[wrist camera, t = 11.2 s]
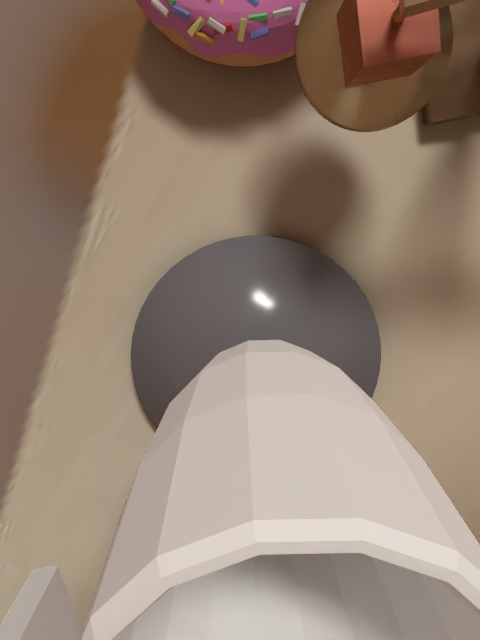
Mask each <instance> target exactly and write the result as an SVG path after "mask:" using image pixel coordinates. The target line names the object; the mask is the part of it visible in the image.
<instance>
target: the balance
mask: <svg viewBox="0 0 480 640" xmlns="http://www.w3.org/2000/svg"><path fill="white" fill-rule="evenodd" d="M294 57H295V67H296V72H297V77H298V80H299V83H300V86H301V88H302V90H303V92H304V94H305V96H306V98H307V99H308V101H309V102H310V104H311V105H312V106H313V108H314V109H315V110H316V111H317V112H318V113H319V114H320V115H321V116H322V117H324V118H325V119H326V120H328V121H329V122H331V123H332V124H334V125H337V126H339V127H341V128H344V129H347V130H351V131H357V132H373V131H379V130H383V129H387V128H390V127H392V126H394V125H397V124H399V123H401V122H402V121H404V120H406V119H408V118H409V117H411V116H412V115H414V114H415V113H416V112H418V111H419V110H420V109H421V108H423V121H424V126H425V125H430V124H435V123H440V122H445V121H450V120H455V119H460V118H465V117H470V116H475V115H480V0H308V1H307V3H306V5H305V8H304V10H303V13H302V15H301V18H300V21H299V25H298V29H297V32H296V39H295V51H294Z"/></svg>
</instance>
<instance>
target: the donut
mask: <svg viewBox="0 0 480 640" xmlns="http://www.w3.org/2000/svg"><path fill="white" fill-rule="evenodd" d="M136 1H137V2H138V4H139V6H140V7H141V9H142V10H143V11H144V13H145V14H146V15H147V17H148V18H149V19H150V20H151V22H152V23H153V24H154V26H155V27H156V28H158V29H159V30H160V31H161V32H162V33H163V34H164V35H165V36H167V37H168V38H169V39H170V40H171V41H172V42H173V43H175V44H177V45H178V46H180V47H181V48H183V49H184V50H186V51H187V52H189V53H191V54H193V55H195V56H197V57H199V58H202V59H204V60H206V61H210V62H213V63H217V64H222V65H228V66H260V65H264V64H269V63H273V62H278V61H281V60H283V59H286V58H288V57H291V56H293V55H294V51H295V39H296V32H297V29H298V25H299V21H300V18H301V15H302V13H303V10H304V8H305V5H306V3H307V1H308V0H136Z"/></svg>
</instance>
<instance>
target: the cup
mask: <svg viewBox="0 0 480 640" xmlns="http://www.w3.org/2000/svg"><path fill="white" fill-rule="evenodd" d="M79 640H480V545H479V543H478V542H477V540H476V539H475V537H474V536H473V534H472V533H471V531H470V530H469V528H468V527H467V525H466V524H465V522H464V521H463V519H462V518H461V516H460V515H459V513H458V512H457V510H456V509H455V507H454V505H453V504H452V502H451V501H450V499H449V498H448V496H447V495H446V493H445V492H444V490H443V489H442V487H441V486H440V484H439V483H438V481H437V480H436V478H435V477H434V475H433V474H432V472H431V471H430V469H429V468H428V466H427V465H426V463H425V462H424V460H423V459H422V458H421V456H420V455H419V454H418V453H417V452H416V451H415V449H414V448H413V447H412V446H411V445H410V443H409V442H408V441H407V440H406V439H405V438H404V436H403V435H402V434H401V433H400V432H399V430H398V429H397V428H396V427H395V426H394V425H393V423H392V422H391V421H390V420H389V419H388V418H387V416H386V415H385V414H384V413H383V412H382V410H381V409H380V408H379V407H378V406H377V405H376V403H375V402H374V401H373V400H372V399H371V398H370V397H369V396H368V395H367V394H366V393H365V392H364V391H363V390H362V389H361V388H360V387H359V386H358V385H357V384H356V383H354V382H353V381H352V380H351V379H350V378H349V377H348V376H347V375H346V374H345V373H344V372H343V371H342V370H341V369H340V368H338V367H337V366H335V365H333V364H331V363H330V362H328V361H326V360H325V359H323V358H321V357H319V356H318V355H316V354H314V353H313V352H311V351H309V350H306V349H303V348H301V347H298V346H295V345H293V344H290V343H287V342H285V341H282V340H248V341H246V342H244V343H241V344H239V345H236V346H234V347H232V348H229V349H227V350H225V351H222V352H220V353H218V354H217V355H216V356H215V357H214V358H213V359H212V360H211V361H210V362H209V363H208V364H207V365H206V366H205V367H204V368H203V370H202V371H201V372H200V373H199V374H198V375H197V376H196V377H195V378H194V379H193V380H192V381H191V382H190V383H189V384H188V385H187V386H186V387H185V388H184V389H183V390H182V391H181V392H180V393H179V394H178V395H177V396H176V397H175V398H174V399H173V400H172V401H171V402H170V403H169V405H168V408H167V410H166V412H165V414H164V416H163V418H162V420H161V422H160V424H159V426H158V428H157V430H156V432H155V434H154V437H153V439H152V441H151V443H150V445H149V447H148V449H147V451H146V453H145V455H144V457H143V459H142V461H141V464H140V466H139V468H138V471H137V474H136V476H135V479H134V482H133V484H132V487H131V490H130V492H129V495H128V498H127V500H126V503H125V506H124V508H123V511H122V514H121V516H120V519H119V522H118V525H117V528H116V531H115V534H114V537H113V540H112V543H111V546H110V549H109V552H108V555H107V558H106V561H105V564H104V567H103V570H102V573H101V576H100V579H99V582H98V585H97V588H96V591H95V594H94V597H93V600H92V603H91V606H90V609H89V612H88V615H87V618H86V621H85V624H84V627H83V630H82V633H81V636H80V639H79Z"/></svg>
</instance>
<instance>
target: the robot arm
mask: <svg viewBox="0 0 480 640" xmlns="http://www.w3.org/2000/svg"><path fill="white" fill-rule="evenodd" d="M81 633H82V630H81V628H80V625H79V622H78V619H77V616H76V614H75V611H74V608H73V605H72V603H71V600H70V597H69V594H68V591H67V589H66V586H65V583H64V580H63V577H62V575H61V572H60V569H59V566H52V567H45V568H39V569H33V570H32V572H31V573H30V575H29V577H28V578H27V580H26V582H25V584H24V585H23V587H22V589H21V590H20V592H19V594H18V596H17V597H16V599H15V601H14V602H13V604H12V606H11V607H10V609H9V611H8V613H7V614H6V616H5V618H4V619H3V621H2V623H1V625H0V640H79V639H80V636H81Z"/></svg>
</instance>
